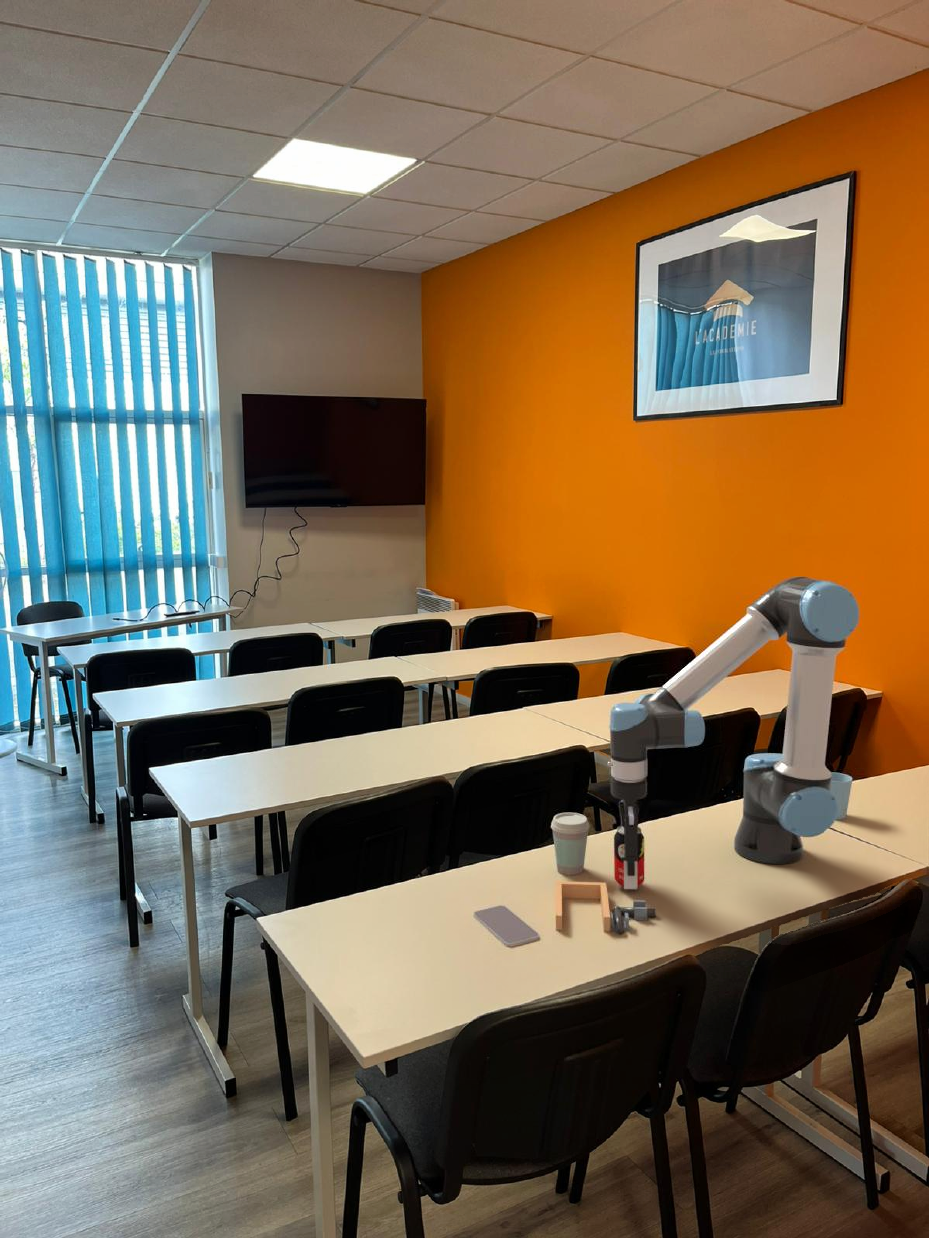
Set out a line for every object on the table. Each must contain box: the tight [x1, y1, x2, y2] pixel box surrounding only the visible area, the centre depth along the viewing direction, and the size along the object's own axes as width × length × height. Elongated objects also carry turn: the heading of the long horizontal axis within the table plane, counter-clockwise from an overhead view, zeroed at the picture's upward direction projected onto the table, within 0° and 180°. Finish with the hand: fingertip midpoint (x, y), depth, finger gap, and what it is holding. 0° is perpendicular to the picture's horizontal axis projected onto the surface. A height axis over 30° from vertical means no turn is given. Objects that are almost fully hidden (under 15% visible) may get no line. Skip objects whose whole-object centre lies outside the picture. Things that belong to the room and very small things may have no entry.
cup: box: [830, 771, 853, 821], centre depth 229 cm, size 8×8×10 cm
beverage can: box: [613, 825, 645, 888], centre depth 191 cm, size 6×6×12 cm
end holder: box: [555, 880, 611, 933], centre depth 180 cm, size 10×15×3 cm
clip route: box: [610, 899, 657, 936], centre depth 176 cm, size 9×10×2 cm
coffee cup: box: [550, 812, 590, 876], centre depth 200 cm, size 9×8×12 cm
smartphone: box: [473, 904, 540, 948], centre depth 175 cm, size 7×1×15 cm
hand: (629, 880), depth 191 cm, fingers closed on beverage can, 6 cm apart
